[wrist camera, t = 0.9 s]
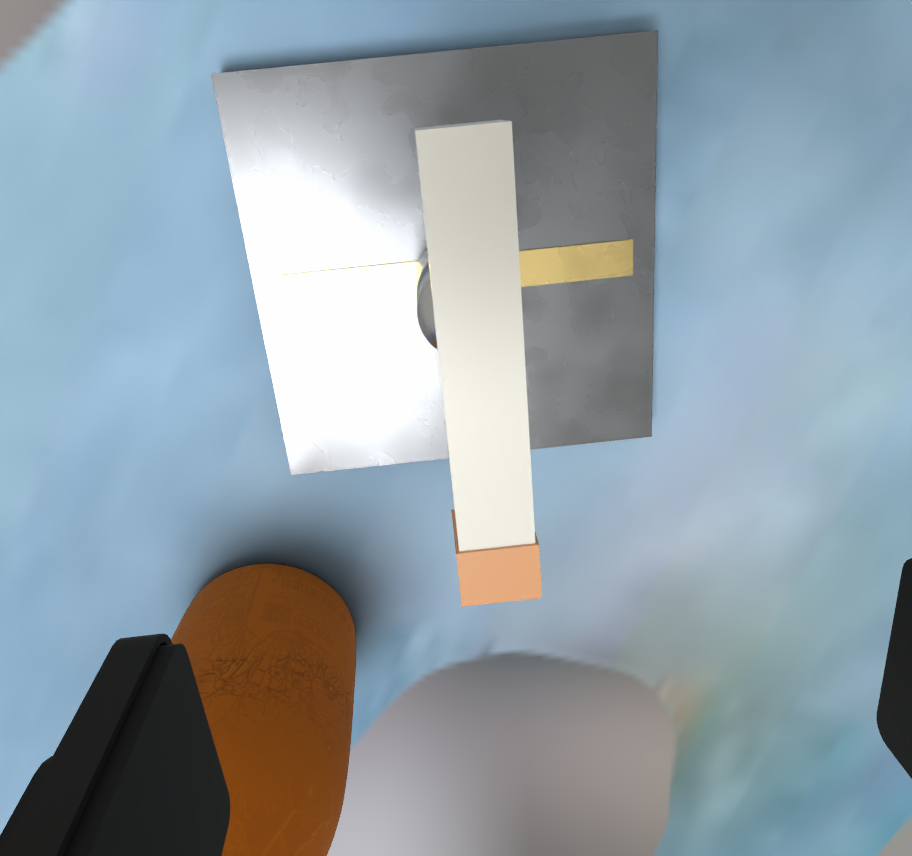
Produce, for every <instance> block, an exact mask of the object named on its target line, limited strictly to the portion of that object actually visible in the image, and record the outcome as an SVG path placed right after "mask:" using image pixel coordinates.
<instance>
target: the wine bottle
mask: <svg viewBox="0 0 912 856" xmlns="http://www.w3.org/2000/svg"><path fill="white" fill-rule="evenodd" d="M171 641H172V644H179V643H180V644H183V645H184V646H185V648H186V650H187V653H188V656H189V659H190V663H191V666H192V669H193V673H194V676H195V680H196V683H197V686H198V690H199V693H200V697H201V700H202V703H203V707H204V710H205V713H206V717H207V720H208V724H209V727H210V730H211V734H212V737H213V741H214V744H215V747H216V751H217V754H218V757H219V761H220V764H221V768H222V771H223V774H224V778H225V781H226V785H227V788H228V791H229V796H230V821H229V826H228V830H227V835H226V839H225V843H224V847H223V851H222V855H221V856H327V854H328V851H329V849H330V846H331V843H332V841H333V838H334V835H335V831H336V828H337V825H338V821H339V817H340V814H341V810H342V805H343V800H344V793H345V787H346V779H347V773H348V764H349V754H350V744H351V732H352V718H353V703H354V686H355V669H356V633H355V627H354V623H353V620H352V617H351V614H350V611H349V609H348V607H347V605H346V604H345V602H344V601H343V599H342V598H341V597H340V596H339V594H338V593H337V592H336V591H335V590H334V589H333V588H332V587H330V586H329V585H328V584H327V583H325V582H324V581H323V580H321V579H320V578H318V577H316V576H314V575H313V574H311V573H309V572H306V571H304V570H301V569H299V568H295V567H291V566H287V565H280V564H255V565H248V566H243V567H240V568H236V569H233V570H231V571H228V572H226V573H224V574H222V575H220V576H218V577H217V578H215V579H214V580H213V581H211V582H210V583H209V584H207V585H206V586H205V587H204V588H203V589H202V590H201V591H200V592H199V593H198V594H197V596H196V597H195V598H194V599H193V601H192V602H191V604H190V606H189V607H188V609H187V611H186V612H185V614H184V616H183V618H182V619H181V621H180V623H179V625H178V627H177V629H176V631H175V633H174V635H173V637H172V639H171Z"/></svg>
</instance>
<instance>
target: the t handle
mask: <svg viewBox="0 0 912 856" xmlns="http://www.w3.org/2000/svg"><path fill="white" fill-rule="evenodd" d="M415 137H416V146H417V156H418V165H419V175H420V184H421V194H422V204H423V213H424V223H425V232H426V242H427V251H428V261H429V271H430V280H431V290H432V299H433V309H434V322H435V331H436V339H437V348H438V357H439V366H440V376H441V385H442V395H443V405H444V414H445V424H446V433H447V443H448V452H449V462H450V472H451V481H452V491H453V500H454V510H452V519H453V528H454V537H455V547H456V556H457V566H458V575H459V584H460V594H461V603H462V607H463V606H472V605H482V604H491V603H500V602H509V601H518V600H527V599H536V598H542V590H541V571H540V553H539V543H538V540H537V536H536V533H535V528H534V510H533V492H532V474H531V456H530V439H529V421H528V403H527V385H526V367H525V349H524V332H523V314H522V296H521V278H520V260H519V243H518V225H517V207H516V189H515V171H514V153H513V136H512V121H507V120H492V121H482V122H472V123H462V124H452V125H442V126H432V127H421V128H415Z"/></svg>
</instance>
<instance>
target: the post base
mask: <svg viewBox="0 0 912 856" xmlns="http://www.w3.org/2000/svg"><path fill="white" fill-rule="evenodd" d="M657 53H658V30H655V31H645V32H634V33H624V34H614V35H604V36H593V37H583V38H573V39H563V40H552V41H542V42H532V43H521V44H511V45H501V46H491V47H480V48H470V49H460V50H449V51H439V52H429V53H419V54H408V55H398V56H388V57H378V58H367V59H357V60H347V61H336V62H326V63H316V64H306V65H295V66H285V67H275V68H265V69H254V70H244V71H234V72H223V73H213V74H211V77H212V82H213V87H214V92H215V97H216V102H217V107H218V112H219V117H220V122H221V127H222V132H223V137H224V142H225V147H226V152H227V157H228V162H229V167H230V172H231V177H232V182H233V187H234V192H235V197H236V202H237V207H238V212H239V217H240V222H241V227H242V232H243V237H244V242H245V247H246V252H247V257H248V262H249V267H250V272H251V277H252V282H253V287H254V291H255V296H256V301H257V306H258V311H259V316H260V321H261V326H262V331H263V336H264V341H265V346H266V351H267V356H268V361H269V366H270V371H271V376H272V381H273V386H274V391H275V396H276V401H277V406H278V411H279V416H280V421H281V426H282V431H283V436H284V441H285V446H286V451H287V456H288V461H289V466H290V471H291V475H296V474H305V473H315V472H324V471H333V470H343V469H352V468H361V467H371V466H380V465H390V464H399V463H408V462H418V461H427V460H436V459H446V458H449V452H448V443H447V433H446V424H445V414H444V405H443V395H442V385H441V376H440V366H439V357H438V348H437V339H436V331H435V322H434V309H433V299H432V290H431V280H430V271H429V261H428V251H427V242H426V232H425V223H424V213H423V204H422V194H421V184H420V175H419V165H418V156H417V146H416V137H415V128H421V127H432V126H442V125H452V124H462V123H472V122H482V121H492V120H507V121H512V136H513V153H514V171H515V189H516V207H517V225H518V243H519V260H520V278H521V296H522V314H523V332H524V349H525V367H526V385H527V403H528V421H529V439H530V449H539V448H548V447H558V446H567V445H577V444H586V443H595V442H605V441H614V440H623V439H633V438H642V437H651V436H652V376H653V311H654V247H655V182H656V117H657Z"/></svg>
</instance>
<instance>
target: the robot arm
mask: <svg viewBox="0 0 912 856" xmlns="http://www.w3.org/2000/svg"><path fill="white" fill-rule="evenodd" d="M877 724H878V728H879V732H880V734H881V737H882V739H883V741H884V742H885V744H886V745H887V747H888V748H889V749H890V751H891V752H892V753H893V755H894V756H895V757H896V759H897V760H898V761H899V763H900V764H901V765H902V767H903V768H904V769H905V770H906V772H907V773H908V774H909V776H910V777H911V778H912V558H911V559H909V560H907V561H906V562H905V563H904V566H903V569H902V574H901V579H900V585H899V591H898V596H897V602H896V608H895V613H894V619H893V625H892V630H891V636H890V642H889V647H888V653H887V659H886V664H885V670H884V676H883V681H882V687H881V693H880V698H879V704H878V710H877ZM229 821H230V796H229V791H228V788H227V785H226V781H225V778H224V774H223V771H222V768H221V764H220V761H219V757H218V754H217V751H216V747H215V744H214V741H213V737H212V734H211V730H210V727H209V724H208V720H207V717H206V713H205V710H204V707H203V703H202V700H201V697H200V693H199V690H198V686H197V683H196V680H195V676H194V673H193V669H192V666H191V663H190V659H189V656H188V653H187V650H186V648H185V646H184V645H183V644H180V643H179V644H172V641H171V639H170V638H169V637H168V635H166V634H156V635H147V636H138V637H130V638H121V639H119V640H117V641H116V642H115V643H114V645H113V646H112V648H111V649H110V651H109V653H108V655H107V657H106V659H105V661H104V662H103V664H102V666H101V668H100V670H99V672H98V674H97V675H96V677H95V679H94V681H93V683H92V685H91V687H90V688H89V690H88V692H87V694H86V696H85V698H84V700H83V701H82V703H81V705H80V707H79V709H78V711H77V713H76V714H75V716H74V718H73V720H72V722H71V724H70V725H69V727H68V729H67V731H66V733H65V735H64V737H63V738H62V740H61V742H60V744H59V746H58V748H57V750H56V751H55V753H54V755H53V756H51V757H50V758H49V759H47V760H46V761H44V762H43V763H42V764H41V766H40V767H39V768H38V770H37V771H36V773H35V774H34V776H33V777H32V779H31V781H30V783H29V785H28V786H27V788H26V790H25V792H24V794H23V796H22V797H21V799H20V801H19V803H18V805H17V806H16V808H15V810H14V812H13V814H12V815H11V817H10V819H9V821H8V823H7V824H6V826H5V828H4V830H3V832H2V833H1V835H0V856H221V855H222V851H223V847H224V843H225V839H226V835H227V830H228V826H229Z"/></svg>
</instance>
